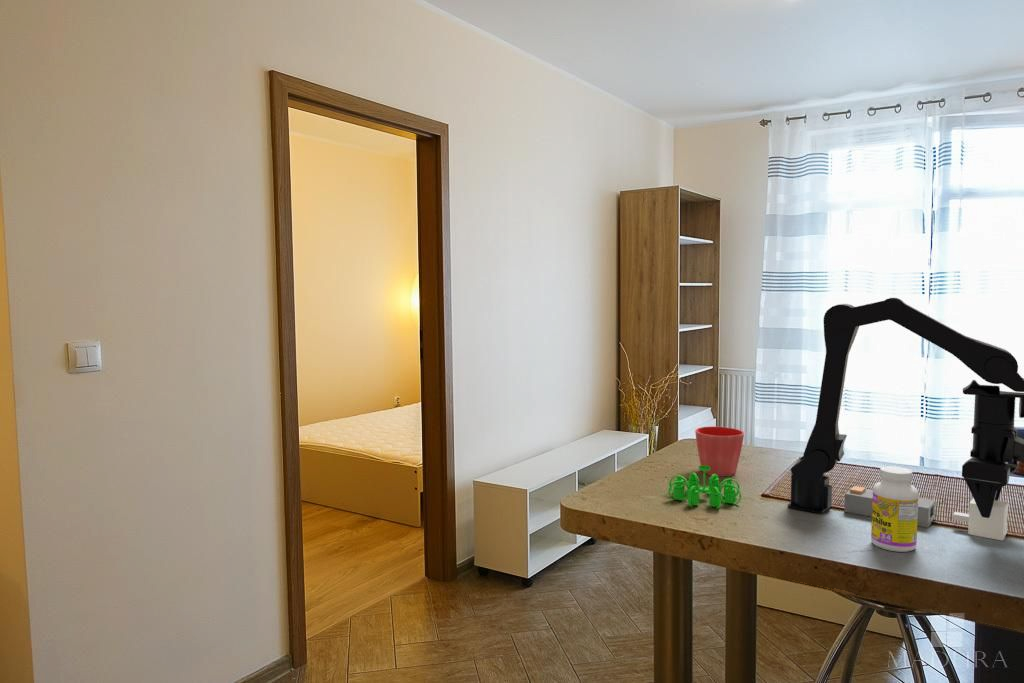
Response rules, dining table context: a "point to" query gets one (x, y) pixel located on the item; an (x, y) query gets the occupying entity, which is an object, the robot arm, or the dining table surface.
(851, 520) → the dining table surface
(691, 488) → the chandelier
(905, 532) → the supplement bottle
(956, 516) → the charger
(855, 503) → the power strip
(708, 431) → the flower pot
